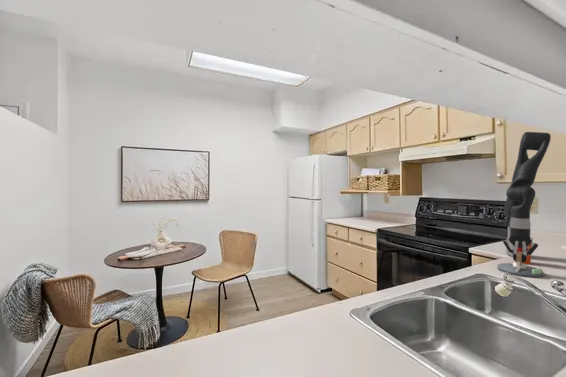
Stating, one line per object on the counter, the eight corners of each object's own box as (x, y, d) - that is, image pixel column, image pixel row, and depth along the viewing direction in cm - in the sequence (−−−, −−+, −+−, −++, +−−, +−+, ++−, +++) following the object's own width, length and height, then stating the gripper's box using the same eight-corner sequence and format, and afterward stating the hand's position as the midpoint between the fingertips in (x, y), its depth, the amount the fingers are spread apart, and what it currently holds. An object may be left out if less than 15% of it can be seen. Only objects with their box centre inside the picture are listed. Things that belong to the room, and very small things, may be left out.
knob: (513, 265, 136) (513, 251, 136) (526, 267, 132) (527, 252, 132) (511, 269, 129) (511, 255, 129) (525, 272, 125) (525, 257, 125)
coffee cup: (528, 265, 140) (529, 237, 140) (509, 261, 148) (510, 234, 147) (536, 263, 144) (536, 235, 144) (517, 259, 151) (517, 233, 151)
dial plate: (501, 264, 143) (501, 257, 143) (545, 271, 131) (545, 264, 130) (493, 271, 132) (493, 264, 132) (541, 280, 120) (541, 272, 119)
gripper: (502, 226, 132) (502, 261, 133) (540, 229, 124) (540, 266, 124) (501, 224, 138) (501, 257, 139) (537, 227, 130) (537, 262, 130)
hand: (519, 261), depth 131 cm, fingers closed on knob, 2 cm apart
